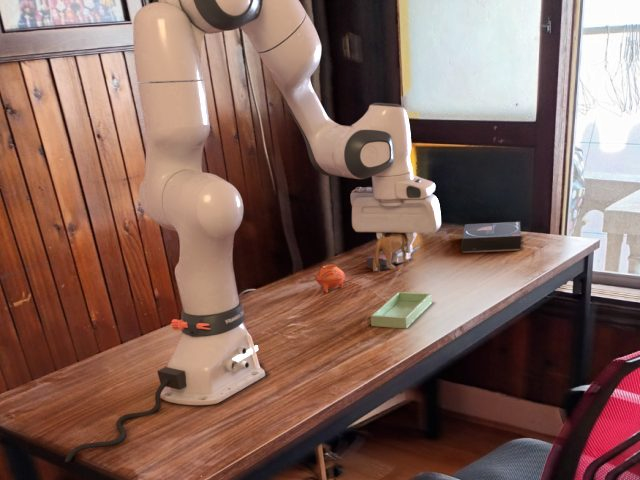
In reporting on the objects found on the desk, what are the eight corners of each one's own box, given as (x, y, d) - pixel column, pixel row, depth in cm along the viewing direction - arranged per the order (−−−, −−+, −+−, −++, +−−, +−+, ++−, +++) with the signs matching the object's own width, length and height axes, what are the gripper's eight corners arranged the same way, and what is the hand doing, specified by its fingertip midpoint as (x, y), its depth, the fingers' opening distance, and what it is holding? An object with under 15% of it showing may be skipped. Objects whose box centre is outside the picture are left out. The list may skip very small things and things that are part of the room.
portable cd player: (463, 238, 231) (463, 224, 228) (519, 235, 228) (520, 221, 226) (460, 252, 217) (460, 238, 215) (520, 250, 215) (520, 235, 212)
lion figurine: (394, 256, 176) (391, 215, 171) (415, 256, 174) (413, 215, 169) (368, 274, 165) (364, 231, 160) (390, 275, 163) (387, 232, 158)
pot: (308, 289, 198) (309, 263, 195) (331, 289, 203) (333, 263, 200) (326, 294, 193) (328, 267, 190) (350, 293, 198) (352, 267, 195)
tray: (406, 328, 170) (405, 318, 168) (371, 326, 173) (370, 315, 171) (431, 303, 182) (431, 293, 181) (398, 301, 186) (398, 291, 184)
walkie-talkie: (391, 271, 207) (422, 251, 221) (390, 255, 204) (421, 236, 219) (364, 269, 211) (395, 250, 225) (362, 253, 208) (394, 235, 222)
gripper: (343, 190, 163) (350, 254, 171) (432, 189, 156) (435, 257, 164) (355, 184, 168) (361, 247, 176) (442, 183, 161) (444, 249, 168)
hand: (397, 252), depth 170 cm, fingers closed on lion figurine, 4 cm apart
